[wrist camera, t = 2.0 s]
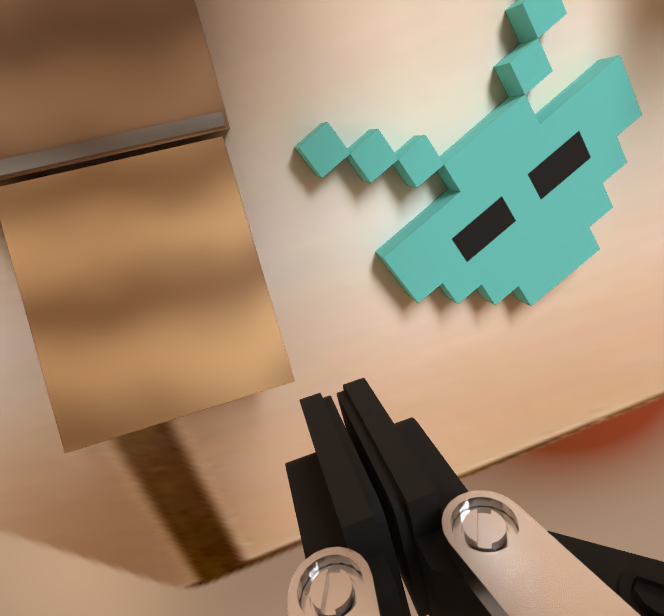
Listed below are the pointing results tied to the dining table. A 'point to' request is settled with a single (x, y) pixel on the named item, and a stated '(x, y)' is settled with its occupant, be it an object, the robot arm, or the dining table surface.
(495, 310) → the dining table surface
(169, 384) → the oak plank
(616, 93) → the alien figure
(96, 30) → the walnut board
